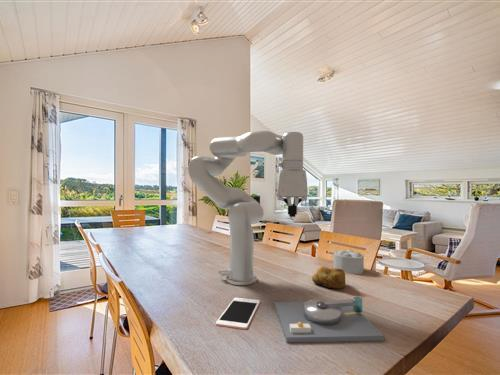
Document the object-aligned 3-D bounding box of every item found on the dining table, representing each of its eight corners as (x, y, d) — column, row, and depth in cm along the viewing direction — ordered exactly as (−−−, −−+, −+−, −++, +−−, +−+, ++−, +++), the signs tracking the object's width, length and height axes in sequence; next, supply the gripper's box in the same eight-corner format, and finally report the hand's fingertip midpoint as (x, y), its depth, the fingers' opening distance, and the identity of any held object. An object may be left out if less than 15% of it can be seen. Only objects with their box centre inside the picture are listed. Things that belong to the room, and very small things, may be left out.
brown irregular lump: (308, 285, 101) (309, 264, 101) (317, 278, 109) (317, 259, 109) (343, 292, 94) (343, 270, 94) (349, 284, 102) (349, 264, 102)
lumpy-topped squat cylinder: (361, 275, 114) (361, 255, 114) (331, 270, 121) (331, 251, 121) (364, 269, 123) (364, 250, 123) (335, 265, 130) (336, 247, 130)
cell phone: (260, 302, 86) (260, 299, 86) (246, 331, 68) (246, 327, 68) (234, 300, 88) (234, 297, 88) (214, 326, 70) (214, 323, 70)
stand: (286, 342, 63) (286, 328, 63) (274, 305, 83) (274, 295, 83) (383, 340, 64) (384, 327, 64) (348, 304, 84) (348, 294, 84)
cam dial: (313, 326, 67) (313, 310, 67) (298, 309, 77) (298, 295, 77) (372, 321, 71) (372, 305, 71) (351, 305, 80) (351, 291, 80)
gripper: (273, 165, 91) (273, 217, 91) (315, 165, 92) (315, 217, 92) (271, 167, 99) (270, 215, 99) (309, 167, 100) (309, 215, 99)
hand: (292, 216), depth 95 cm, fingers closed
